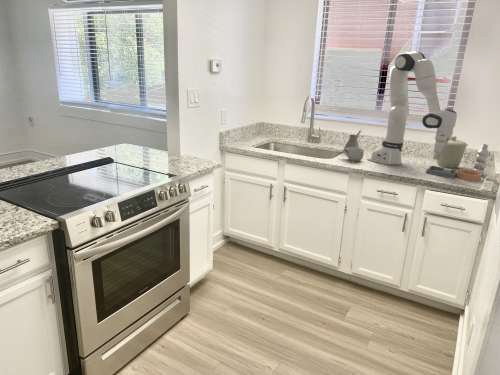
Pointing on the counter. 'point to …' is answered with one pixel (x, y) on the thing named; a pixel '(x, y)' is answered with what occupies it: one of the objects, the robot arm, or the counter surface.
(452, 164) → the canister
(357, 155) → the teacup
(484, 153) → the silver metal bottle
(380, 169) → the counter surface
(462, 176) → the terracotta bowl
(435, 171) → the slate tray
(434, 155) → the tan block
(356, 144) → the coffee pot
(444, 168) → the cream matte cube
